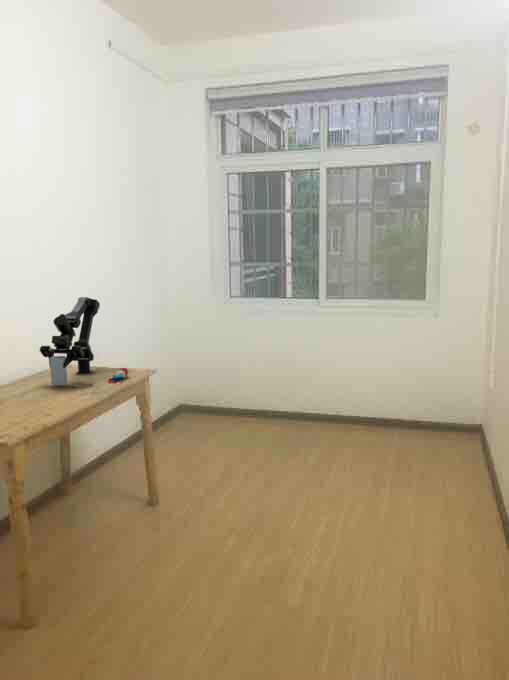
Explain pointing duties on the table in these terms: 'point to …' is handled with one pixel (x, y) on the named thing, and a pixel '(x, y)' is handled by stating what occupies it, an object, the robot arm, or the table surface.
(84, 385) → the coaster
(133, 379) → the table surface
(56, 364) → the pale blue box
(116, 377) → the toy figure
